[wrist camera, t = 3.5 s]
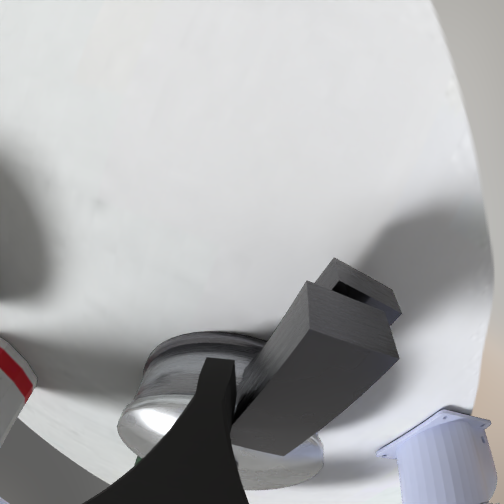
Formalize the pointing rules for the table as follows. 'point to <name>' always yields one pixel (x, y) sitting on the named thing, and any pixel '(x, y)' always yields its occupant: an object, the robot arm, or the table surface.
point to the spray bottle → (13, 386)
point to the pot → (246, 338)
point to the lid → (287, 389)
